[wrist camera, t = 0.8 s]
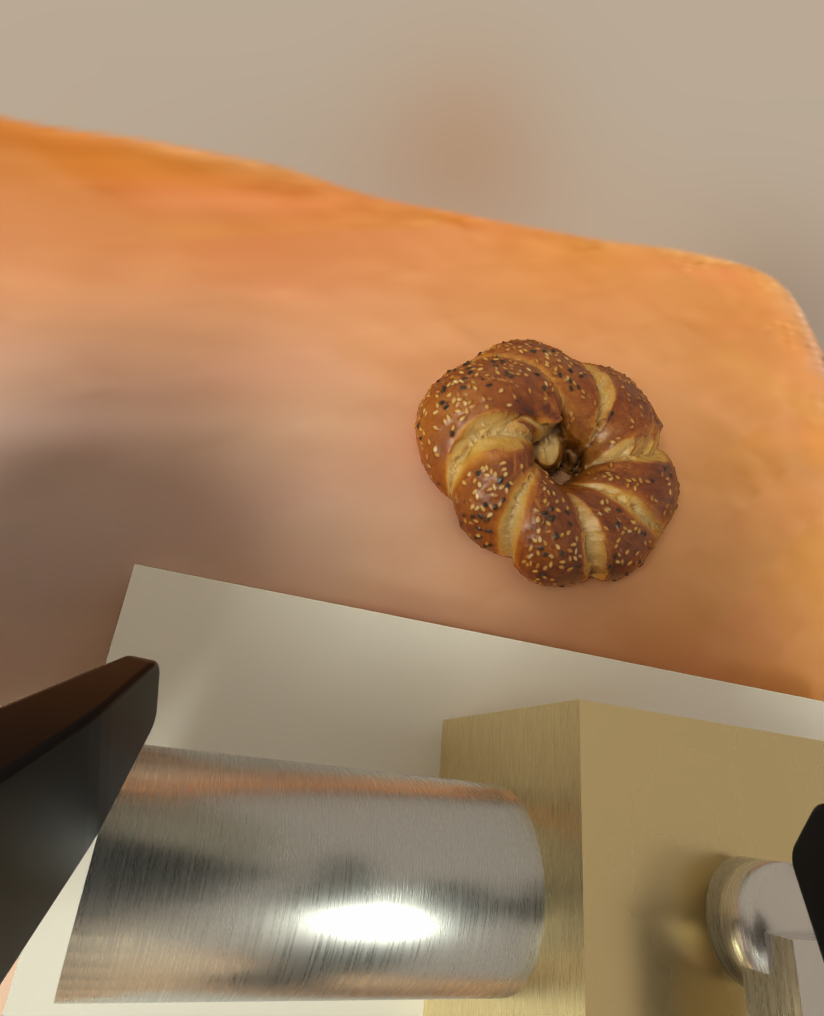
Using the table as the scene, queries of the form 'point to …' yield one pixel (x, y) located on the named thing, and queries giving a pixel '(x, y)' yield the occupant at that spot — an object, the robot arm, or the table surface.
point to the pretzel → (549, 461)
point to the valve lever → (765, 937)
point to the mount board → (345, 718)
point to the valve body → (443, 869)
